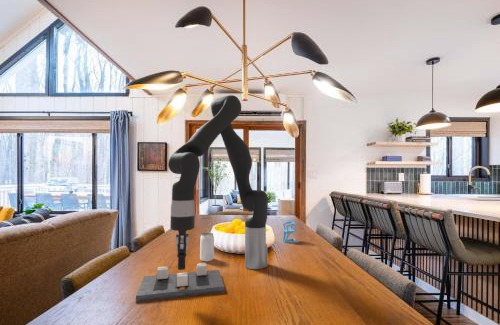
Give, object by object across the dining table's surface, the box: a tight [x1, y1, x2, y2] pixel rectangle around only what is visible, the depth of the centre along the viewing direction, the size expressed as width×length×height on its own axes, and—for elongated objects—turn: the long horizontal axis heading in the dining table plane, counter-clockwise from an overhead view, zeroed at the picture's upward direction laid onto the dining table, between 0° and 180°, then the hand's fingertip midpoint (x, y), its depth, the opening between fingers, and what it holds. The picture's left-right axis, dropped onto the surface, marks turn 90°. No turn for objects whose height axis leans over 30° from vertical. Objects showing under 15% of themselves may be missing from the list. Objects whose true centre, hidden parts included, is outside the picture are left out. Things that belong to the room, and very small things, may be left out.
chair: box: [282, 221, 300, 244], centre depth 154 cm, size 8×8×12 cm
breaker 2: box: [196, 262, 208, 276], centre depth 97 cm, size 4×2×4 cm, turn 104°
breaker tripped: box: [176, 272, 188, 287], centre depth 87 cm, size 4×2×4 cm, turn 104°
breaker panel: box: [135, 269, 225, 303], centre depth 91 cm, size 28×16×2 cm, turn 104°
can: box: [199, 232, 215, 263], centre depth 121 cm, size 6×6×12 cm
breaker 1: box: [156, 265, 169, 279], centre depth 94 cm, size 4×2×4 cm, turn 104°
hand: (181, 268), depth 81 cm, fingers closed
